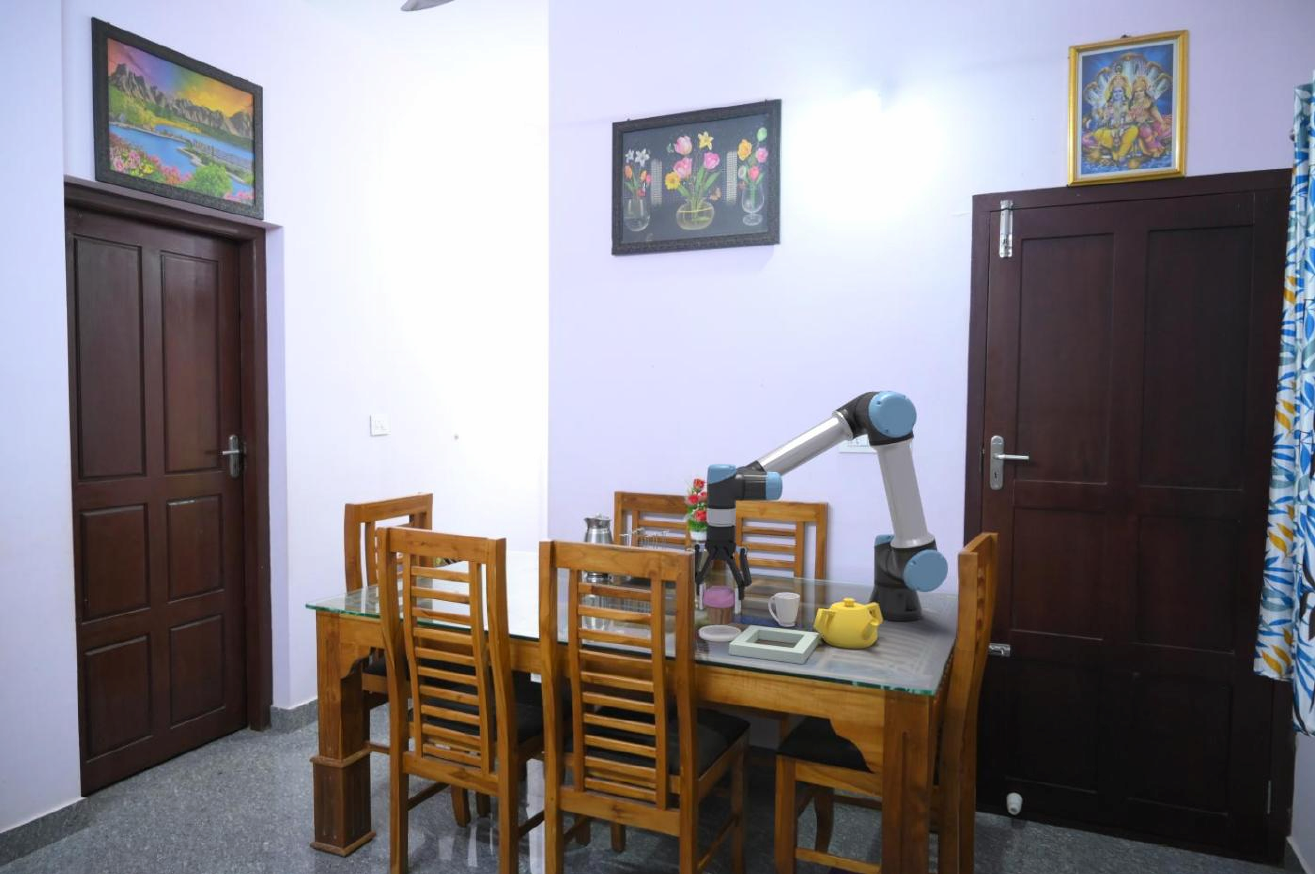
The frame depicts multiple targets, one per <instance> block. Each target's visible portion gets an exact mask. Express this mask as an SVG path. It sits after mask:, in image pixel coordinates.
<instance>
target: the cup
mask: <svg viewBox="0 0 1315 874" xmlns="http://www.w3.org/2000/svg"><path fill="white" fill-rule="evenodd" d="M773 599H774V603H775V611H776V615H775V613H774V611H773V610H772V602H773ZM800 599H801V595H800V594H798V593H795V592H786V591H785V592H777V593H775V594H774V595H772V596H770V598H769V599H768V604H767V605H768V606H767V607H768V612H769V613H770V615H771V616H772V617H773V619H774V620H775V621H776V622H777V623H778V625H780V626H781V627H787V628H789V627H794V626H795V625H796V623H795V621H796V620H797V615H798V612H799V605H800V601H801V600H800Z"/></svg>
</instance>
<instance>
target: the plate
mask: <svg viewBox="0 0 1315 874" xmlns="http://www.w3.org/2000/svg"><path fill="white" fill-rule="evenodd" d="M741 633H742V630H741V629H740V628H739V627H736V626H731V625H727V624H724V625H716V624H714V625H706V626H702V627H700V628H699V629H698V637H699V638H701V639H703V640H706V641H710V642H716V643H717V642H718V643H719V642H720V643H723V642H724V643H727V642H732V641H733V640H734V639H735V638H737V637H738V636H739V635H740V634H741Z"/></svg>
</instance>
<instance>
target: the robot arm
mask: <svg viewBox="0 0 1315 874" xmlns="http://www.w3.org/2000/svg"><path fill="white" fill-rule="evenodd" d="M917 413H918V412H917V410H916V407H915V405H914V403H913V402H912V400H911V399H910V398H909V397H908V396H907V395H905V394H903V393H901V392H897V391H892V390H886V391H885V390H882V391H881V390H880V391H868V392H865V393H862V394H859V395H857V396H856V397H855V398H853V399H851V400H849V401H848V402H846V403H845V404H843V405H842V406H840V407H838V408H837V409H835V410H833V411H832V412H831V416H830V417H828V418H826V419H824V420H823V421H821V422H820V423H818V424H816V425H815V426H812V427H811V428H810V429H808V430H806V431H804V432H802V433H800V434H799V435H797V436H796V437H793V438H792V439H790V440H787V442H785V443H783V444H782V445H779V446H777V447H776V448H774V449H773V450H770V451H769V452H768V453H766V454H764V455H762V456H761V457H759V458H757V459H756V460H754V461H752V462H750V463H749V464H747V465H741V466H738V467H737V466H736V465H735V464H730V463H714V464H710V465H709V466H708V467H707V475H706V482H705V483H706V523H707V525H706V532H705V537H706V538H705V539H706V540H705V543H701V542H698V543H696V544H695V545H694V556H695V582H694V583H695V588H696V590H695V591H696V592H695V594H696V596H697V597H699V605H698V606H699V610H700V611H701V610H704V609H706V606H705V604H704V603H703V597H704V594H705V592H706V590H707V588H706V587H707V583H706V582H704V581H705V578H706V576H707V575H708V572H709V571H710V568H711V567H712V564H713V563H714V561H722V562H725V563H726V564H727V565H728V567H729V570H730V572H731V574H732V576H733V578H734V581H735V582H736V585H737V586H736V587H735V588H734V593H735V605H734V614H736V615H738V614H739V613H741V612H742V611H741V609H742V601H744V599H745V592H746V591H745V590H746V589H745V588H746V587H747V588H748V587H749V586H750V585H752V583H753V580H752V575H751V570H750V566H749V565H750V564H749V561H748V555H747V554H748V547H747V546H738V545H737V542H736V528H737V527H736V525H735V524H736V520H737V519H736V516H737V515H736V514H737V513H736V511H737V509H736V508H737V506H736V505H737V502H744V501H746V502H747V501H749V502H750V501H751V502H757V501H758V502H771V501H777V500H780V498H782V495H783V487H784V486H783V478H782V477H784V476H785V475H786V474H788V473H790V472H792V471H794V470H795V469H797V468H799V467H801V466H802V465H804V464H806V463H808V462H809V461H811V460H813V459H814V458H817V457H818V456H820V455H823V454H824V453H825V452H827V451H828V450H830V449H833V448H834V447H836V446H838V445H839V444H841V443H842V442H844V441H848V442H851V441H853V440H855V439H857V438H859V437H862V436H866V435H867V440H868V444H869V447H870V448H871V449H873V450H875V451H876V454H877V458H878V463H879V469H880V473H881V478H882V483H883V488H884V492H885V497H886V500H887V506H888V510H889V515H890V520H891V524H892V529H893V533H894V534H893V533H890V534H889V533H888V534H886V533H885V534H878V535H877V536H876V537H875V539H874V545H873V549H874V551H873V552H874V553H873V554H874V555H873V556H874V557H873V561H874V562H873V566H874V567H873V572H874V573H873V588H872V590H871V593H870V597H869V600H868V602H867V604H870V603H873V602H875V603H877V604H879V608H880V611H881V615H882V618H883V620H887V621H894V622H896V621H897V622H908V621H916V620H919V619H921V618H923V607H922V603H921V600H920V597H919V594H918V592H920V593H921V592H922V593H930V592H933V591H935V590H937V589H938V588H940V587H941V586H942V585H943V583H944V581H946V579H947V577H948V572H949V565H948V561H947V559H946V558H945V556H944V555H943V554H942V553H941V552H939V550H938V545H937V542H936V537H935V535H934V534H932V533H931V532H930V531H928V528H927V523H926V519H925V518H926V517H925V513H924V508H923V503H922V498H921V493H920V488H919V483H918V479H917V474H916V470H915V464H914V459H913V454H912V451H911V444H912V441H914V439H915V435H914V426H915V424H916V422H917V417H918V416H917V415H918V414H917ZM705 550H706V552H707V553H708V555H707V557H706V559H705V562H704V564H703V566H702V568H701V570H700V572H699V569H700V566H701V562H702V561H701V560H702V556H703V553H704V551H705ZM735 552H737V555H738V556H739V562H740V567H741V570H740V569H739V567H738V565H737V564H738V563H736V559H735V556H734V554H735ZM740 571H741V572H742V573H741V572H740ZM869 612H870V614H871V615H872V613H871V611H869Z"/></svg>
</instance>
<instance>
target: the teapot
mask: <svg viewBox="0 0 1315 874" xmlns="http://www.w3.org/2000/svg"><path fill="white" fill-rule="evenodd" d="M869 611H871V613H872V615H871V614H870V612H869ZM883 621H884V619H883V618H882V615H881V611H880V608H879V604H877V603H875V602H873V603H870V604H868V603H867V604H863V603H862V604H861V603H858V602H856V599H855V598H851V597H845V598H843V599H842V601H838V602H835V603H833V604H831V606H830V607H829V608H828V609H826V608H818V610H817V613H816V617H815V620H814V624H813V628H814V629H816V630H817V632H818V633H819V636H821V638H822V639H823V641H825V643H827V644H828V645H830V646H832V647H835V648H836V647H838V648H840V649H841V648H842V649H851V650H852V649H864V648H868V647H870V646H872V645H873V644H874V643H875V642H876V641H877V639H878V633H879V632H878V627H879V626H880V625H881V624H882V623H883Z"/></svg>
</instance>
